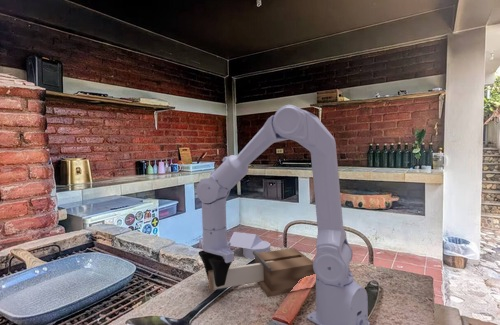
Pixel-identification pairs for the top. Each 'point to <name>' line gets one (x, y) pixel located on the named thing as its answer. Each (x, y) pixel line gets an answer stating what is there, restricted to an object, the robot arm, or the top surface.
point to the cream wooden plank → (239, 275)
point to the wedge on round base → (249, 244)
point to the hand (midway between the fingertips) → (216, 282)
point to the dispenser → (283, 270)
